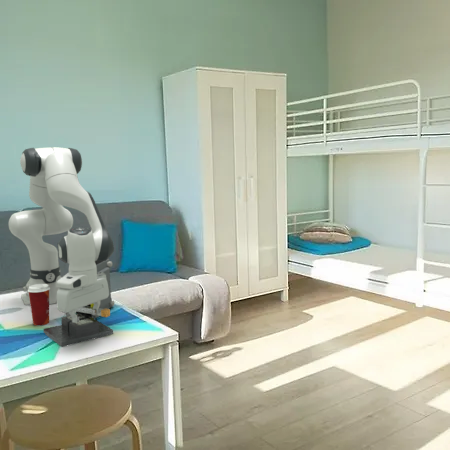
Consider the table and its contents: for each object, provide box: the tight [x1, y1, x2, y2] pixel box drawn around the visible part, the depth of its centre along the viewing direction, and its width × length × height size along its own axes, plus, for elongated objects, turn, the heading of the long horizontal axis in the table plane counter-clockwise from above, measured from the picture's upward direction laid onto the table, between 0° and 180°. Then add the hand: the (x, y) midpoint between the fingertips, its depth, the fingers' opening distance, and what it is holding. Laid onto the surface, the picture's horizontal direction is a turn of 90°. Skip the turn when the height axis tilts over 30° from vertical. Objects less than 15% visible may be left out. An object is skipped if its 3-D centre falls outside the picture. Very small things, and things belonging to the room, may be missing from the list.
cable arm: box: [76, 306, 111, 318], centre depth 175 cm, size 20×3×2 cm, turn 61°
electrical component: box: [75, 258, 115, 320], centre depth 196 cm, size 18×10×20 cm, turn 168°
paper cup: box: [28, 284, 50, 326], centre depth 186 cm, size 8×8×14 cm
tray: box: [43, 312, 114, 348], centre depth 174 cm, size 17×18×6 cm
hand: (85, 318), depth 167 cm, fingers open, 7 cm apart
